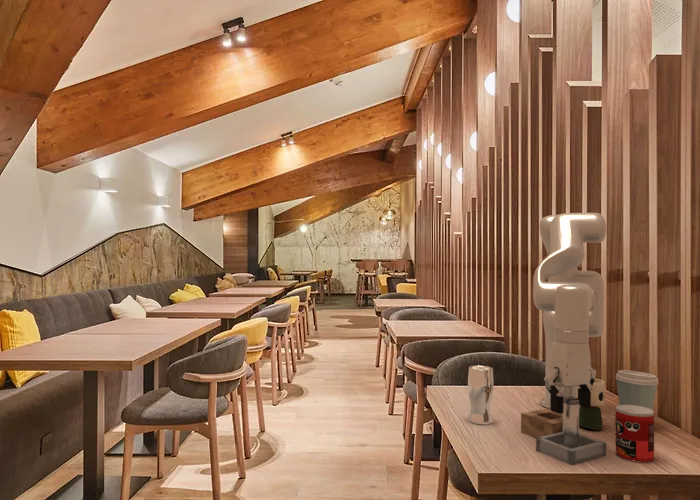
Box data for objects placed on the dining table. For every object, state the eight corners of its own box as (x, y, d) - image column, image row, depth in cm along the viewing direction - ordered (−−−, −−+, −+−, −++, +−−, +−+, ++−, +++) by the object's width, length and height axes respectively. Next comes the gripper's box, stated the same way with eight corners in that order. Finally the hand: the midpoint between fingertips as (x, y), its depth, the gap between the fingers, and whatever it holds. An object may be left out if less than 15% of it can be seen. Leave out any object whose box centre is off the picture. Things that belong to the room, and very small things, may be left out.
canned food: (608, 450, 125) (608, 404, 126) (640, 450, 126) (640, 404, 126) (628, 463, 118) (628, 414, 118) (661, 462, 118) (661, 413, 119)
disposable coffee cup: (622, 418, 152) (622, 366, 152) (664, 426, 144) (664, 372, 145) (609, 425, 145) (609, 371, 145) (652, 435, 137) (652, 377, 137)
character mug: (603, 436, 136) (603, 385, 136) (573, 431, 140) (573, 382, 140) (606, 424, 146) (606, 377, 146) (578, 420, 149) (578, 374, 149)
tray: (569, 442, 131) (569, 430, 131) (606, 455, 122) (606, 442, 122) (535, 450, 125) (536, 437, 125) (572, 464, 116) (572, 451, 116)
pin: (569, 445, 126) (569, 395, 126) (582, 450, 123) (582, 399, 123) (559, 448, 124) (559, 397, 125) (572, 453, 121) (572, 401, 121)
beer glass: (493, 426, 143) (494, 371, 143) (467, 424, 144) (468, 369, 145) (492, 418, 150) (492, 366, 150) (467, 416, 151) (467, 364, 151)
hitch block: (546, 426, 143) (547, 408, 143) (578, 438, 134) (579, 418, 134) (521, 432, 138) (521, 413, 138) (552, 444, 129) (552, 423, 129)
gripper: (581, 332, 132) (580, 400, 132) (533, 337, 123) (532, 410, 123) (608, 336, 125) (608, 408, 125) (560, 342, 117) (559, 419, 117)
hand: (570, 409), depth 124 cm, fingers open, 9 cm apart
